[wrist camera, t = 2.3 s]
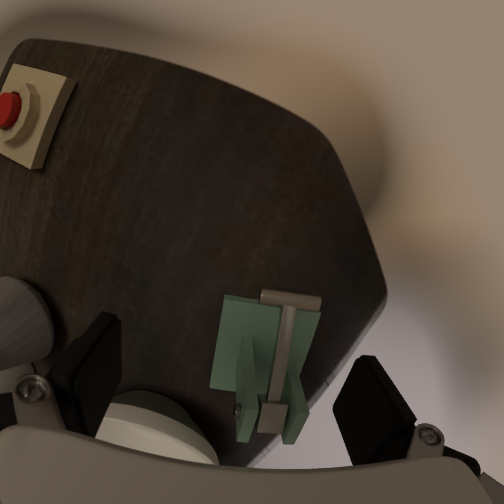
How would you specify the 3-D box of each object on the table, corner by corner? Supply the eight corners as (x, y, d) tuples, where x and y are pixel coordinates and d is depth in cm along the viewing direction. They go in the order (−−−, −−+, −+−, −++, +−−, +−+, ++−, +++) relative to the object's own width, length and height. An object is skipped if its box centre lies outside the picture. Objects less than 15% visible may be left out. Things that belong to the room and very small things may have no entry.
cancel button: (8, 91, 18) (-2, 89, 17) (26, 98, 19) (16, 95, 17) (-4, 123, 19) (-14, 122, 17) (14, 131, 20) (3, 130, 18)
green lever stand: (224, 294, 29) (219, 368, 18) (318, 308, 30) (356, 378, 19) (209, 381, 33) (202, 460, 21) (290, 390, 34) (307, 465, 22)
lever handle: (258, 286, 25) (263, 285, 22) (314, 295, 25) (324, 294, 23) (236, 419, 23) (239, 431, 20) (291, 423, 23) (298, 434, 21)
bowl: (194, 465, 38) (190, 510, 29) (83, 420, 35) (63, 463, 26) (247, 399, 34) (250, 458, 25) (100, 338, 30) (67, 388, 21)
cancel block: (23, 67, 20) (4, 60, 17) (77, 81, 22) (57, 73, 18) (-6, 143, 23) (-27, 144, 19) (42, 168, 24) (20, 170, 21)
